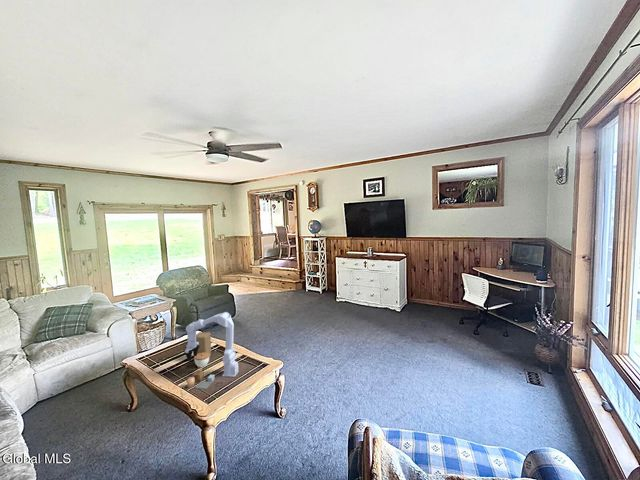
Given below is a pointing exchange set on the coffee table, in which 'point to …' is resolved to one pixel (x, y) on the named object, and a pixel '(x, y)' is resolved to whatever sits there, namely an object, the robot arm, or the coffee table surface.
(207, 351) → the wooden block
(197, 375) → the walnut block
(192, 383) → the tan rounded cylinder
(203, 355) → the lidded jar
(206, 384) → the slate coaster
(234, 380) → the coffee table surface
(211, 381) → the blue plastic box
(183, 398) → the coffee table surface
